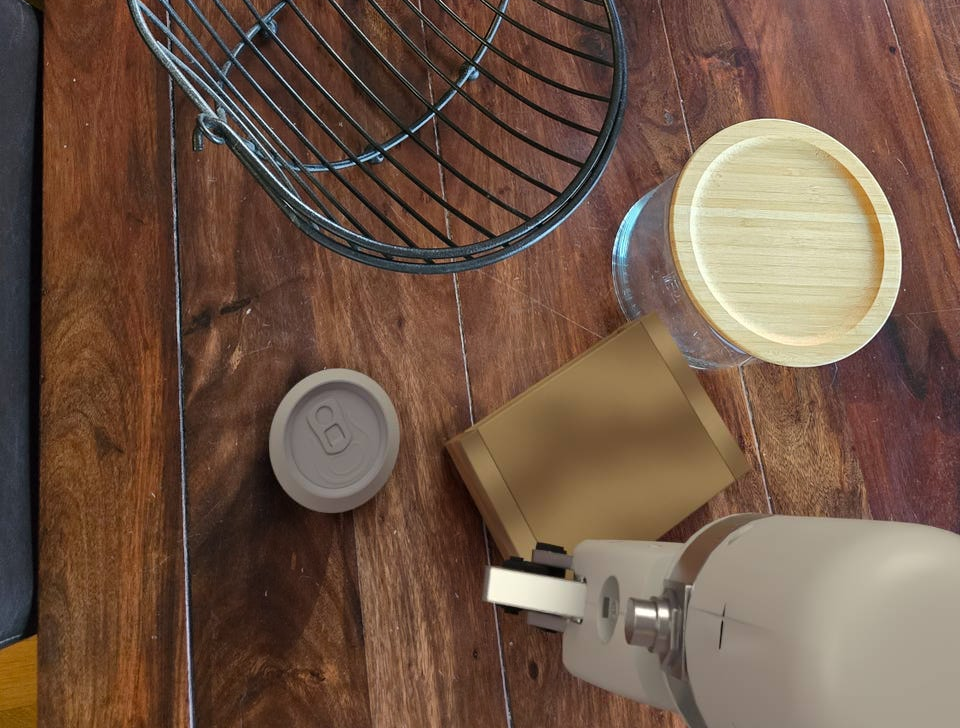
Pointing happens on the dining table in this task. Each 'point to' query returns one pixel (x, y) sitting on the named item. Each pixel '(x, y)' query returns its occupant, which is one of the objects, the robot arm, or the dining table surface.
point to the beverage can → (334, 440)
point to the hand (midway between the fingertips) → (640, 597)
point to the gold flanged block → (600, 448)
